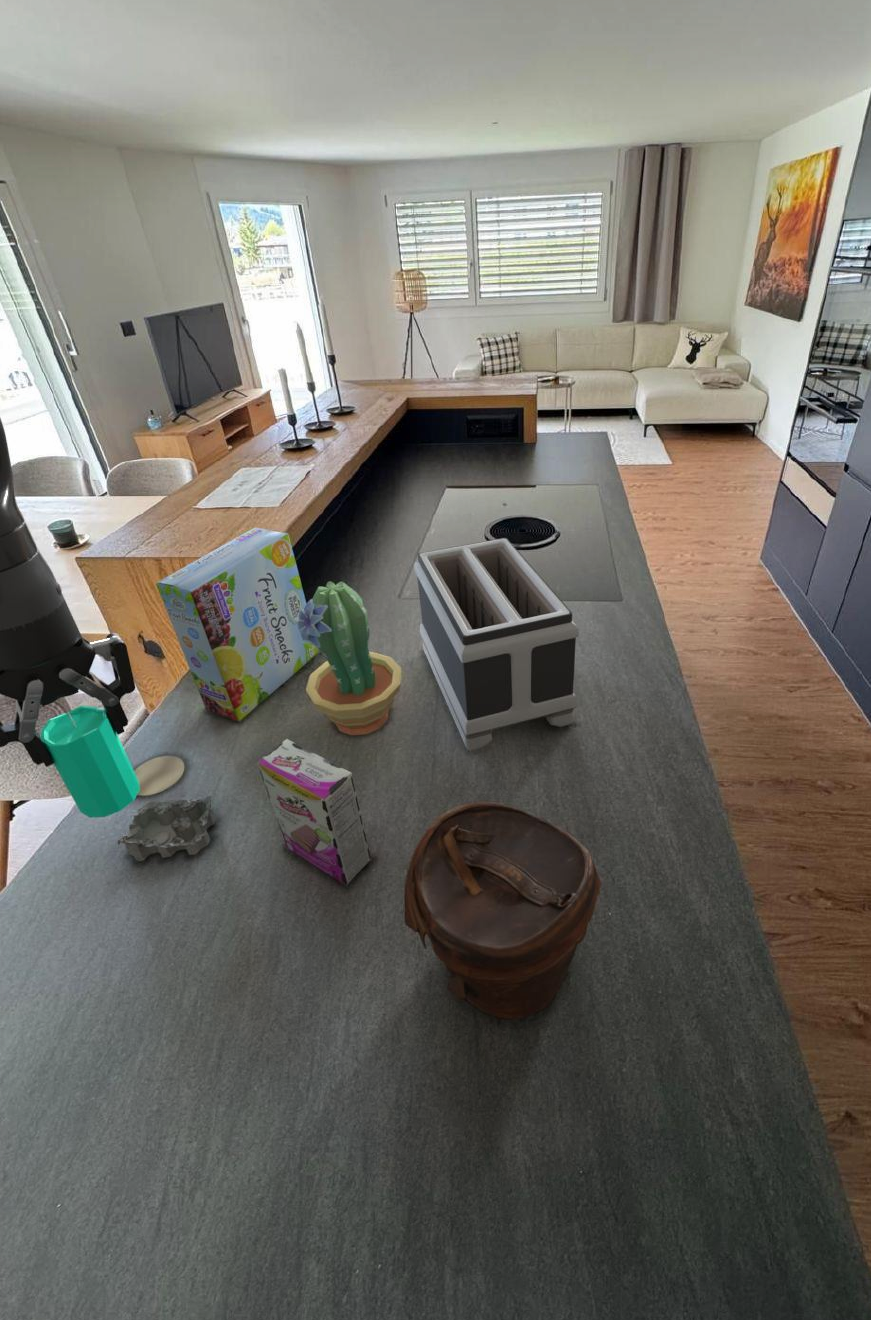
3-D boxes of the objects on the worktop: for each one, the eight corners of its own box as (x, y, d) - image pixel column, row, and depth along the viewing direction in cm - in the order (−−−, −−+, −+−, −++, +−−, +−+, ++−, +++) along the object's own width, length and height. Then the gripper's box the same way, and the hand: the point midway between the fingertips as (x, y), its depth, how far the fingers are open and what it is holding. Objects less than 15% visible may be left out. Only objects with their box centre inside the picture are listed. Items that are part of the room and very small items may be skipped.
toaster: (504, 620, 127) (501, 525, 115) (576, 726, 99) (582, 616, 88) (417, 638, 122) (405, 542, 111) (467, 755, 95) (458, 643, 83)
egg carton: (123, 864, 81) (111, 844, 78) (146, 817, 87) (135, 798, 85) (205, 857, 81) (196, 836, 79) (222, 811, 87) (214, 791, 85)
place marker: (116, 796, 91) (116, 795, 90) (143, 756, 97) (143, 755, 97) (169, 796, 90) (169, 795, 90) (193, 756, 97) (192, 755, 97)
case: (423, 883, 77) (407, 782, 67) (585, 884, 76) (593, 781, 66) (402, 1044, 62) (378, 944, 52) (604, 1047, 61) (618, 946, 51)
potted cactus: (311, 699, 108) (280, 573, 94) (398, 679, 111) (380, 555, 98) (319, 759, 95) (284, 624, 82) (416, 735, 99) (399, 601, 85)
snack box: (286, 644, 122) (255, 524, 109) (321, 654, 119) (293, 532, 105) (201, 710, 106) (151, 580, 92) (238, 724, 103) (193, 590, 89)
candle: (149, 794, 67) (110, 710, 61) (90, 827, 64) (42, 742, 57) (128, 767, 71) (90, 685, 65) (71, 797, 67) (25, 713, 61)
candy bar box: (284, 850, 81) (254, 761, 73) (311, 823, 85) (286, 735, 76) (346, 890, 76) (322, 799, 67) (373, 859, 80) (353, 769, 71)
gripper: (91, 565, 61) (146, 697, 70) (-93, 620, 53) (-4, 761, 62) (113, 592, 56) (168, 730, 65) (-86, 656, 48) (9, 804, 57)
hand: (84, 744), depth 63 cm, fingers closed on candle, 6 cm apart
